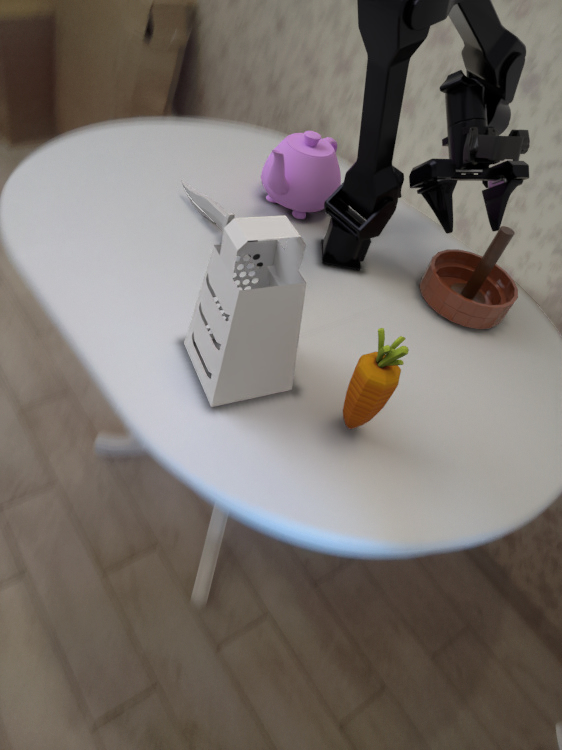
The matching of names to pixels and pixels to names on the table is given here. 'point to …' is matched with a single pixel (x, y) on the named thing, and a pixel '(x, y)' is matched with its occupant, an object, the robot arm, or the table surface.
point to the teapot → (302, 172)
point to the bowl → (459, 309)
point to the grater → (249, 312)
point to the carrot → (373, 382)
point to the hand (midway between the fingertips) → (473, 232)
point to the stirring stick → (484, 266)
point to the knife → (212, 211)
